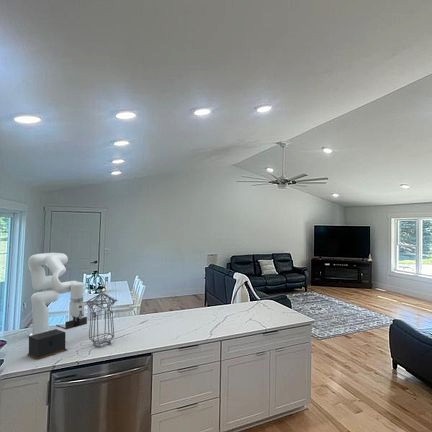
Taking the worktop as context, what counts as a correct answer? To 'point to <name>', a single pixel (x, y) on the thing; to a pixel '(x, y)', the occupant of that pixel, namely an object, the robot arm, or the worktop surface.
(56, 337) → the wood-trimmed dark box
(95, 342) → the geometric lantern
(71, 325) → the brown angular bar frame
